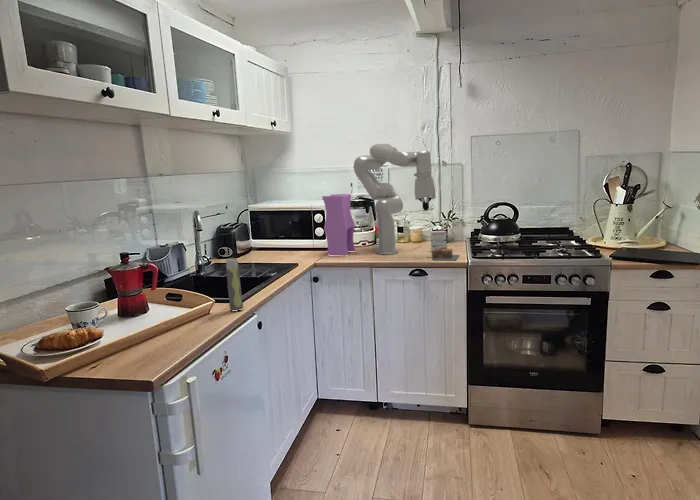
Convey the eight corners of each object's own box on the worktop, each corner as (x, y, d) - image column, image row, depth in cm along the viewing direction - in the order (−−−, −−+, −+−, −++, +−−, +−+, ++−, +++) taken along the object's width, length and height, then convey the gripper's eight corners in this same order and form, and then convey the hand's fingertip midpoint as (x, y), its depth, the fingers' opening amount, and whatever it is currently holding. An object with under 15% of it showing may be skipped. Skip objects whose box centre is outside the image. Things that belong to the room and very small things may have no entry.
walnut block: (431, 250, 252) (450, 250, 249) (433, 248, 258) (452, 248, 254) (431, 258, 253) (450, 258, 250) (433, 255, 259) (452, 256, 255)
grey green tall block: (228, 310, 180) (222, 258, 177) (240, 307, 183) (235, 256, 179) (233, 313, 176) (227, 260, 173) (245, 310, 179) (240, 257, 175)
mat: (432, 260, 249) (432, 259, 249) (437, 255, 262) (437, 254, 262) (455, 260, 245) (455, 259, 245) (459, 255, 258) (459, 254, 258)
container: (334, 252, 292) (331, 194, 286) (356, 252, 287) (352, 193, 281) (325, 256, 279) (321, 196, 273) (348, 256, 274) (344, 195, 268)
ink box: (446, 250, 275) (445, 230, 273) (447, 252, 270) (446, 231, 268) (430, 251, 276) (430, 230, 274) (431, 252, 271) (430, 232, 269)
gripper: (408, 176, 249) (410, 211, 252) (437, 174, 243) (438, 210, 246) (411, 176, 256) (413, 210, 258) (439, 174, 250) (441, 209, 253)
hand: (425, 210), depth 252 cm, fingers closed
